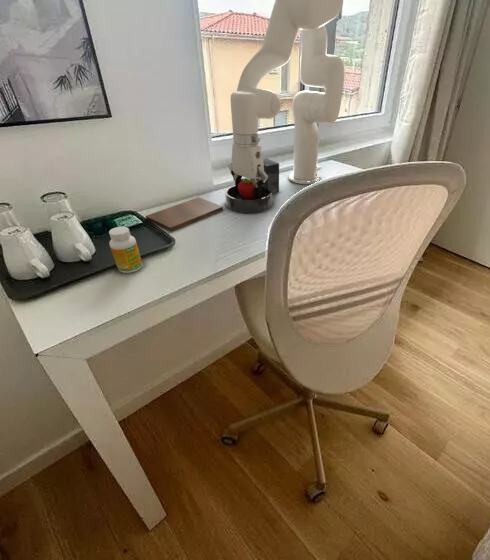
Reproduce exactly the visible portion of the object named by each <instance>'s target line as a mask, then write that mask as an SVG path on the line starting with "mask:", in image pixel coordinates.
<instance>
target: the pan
mask: <svg viewBox="0 0 490 560" xmlns="http://www.w3.org/2000/svg"><path fill="white" fill-rule="evenodd" d="M261 188H262V197H261V198H258V199H254V200H244V199H243V197H242V196H241V195H240V193H236V189H235V184H234V185H231V186H230V187H228V188H226V190H225V191H224V196H225V205H226V208H227V209H228V210H229V211H231V212H233V213H238V214H245V215H246V214H247V215H251V214H259V213H263V212H266V211H268V210H269V209H271V207H272V204H273V202H272V201H273V200H272V197H273V196H272V195H273V194H272V192H271V190H270V189H269V188H268V187H266V186H261Z"/></svg>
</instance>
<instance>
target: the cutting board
mask: <svg viewBox="0 0 490 560" xmlns="http://www.w3.org/2000/svg"><path fill="white" fill-rule="evenodd" d="M221 211H224V206H222V205H220V204H218V203H215V202H212V201H211V200H208V199H204V198H203V197H200V196H198V197H195V198H193V199H190V200H187V201H183V202H181V203H178V204H175V205H172V206H170V207H166V208H163V209H161V210H158V211H155V212H151V213H149V214H146V215H145V219H146V220H147V221H148V222H151V223H153V224H155V225H157V226H159V227H161V228H163V229H165V230H167V231H168V232H173V231H176V230H179V229H180V228H183V227H186V226H188V225H190V224H193V223H195V222H198V221H200V220H203V219H205V218H207V217H210V216H212V215H215V214H217V213H219V212H221Z"/></svg>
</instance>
